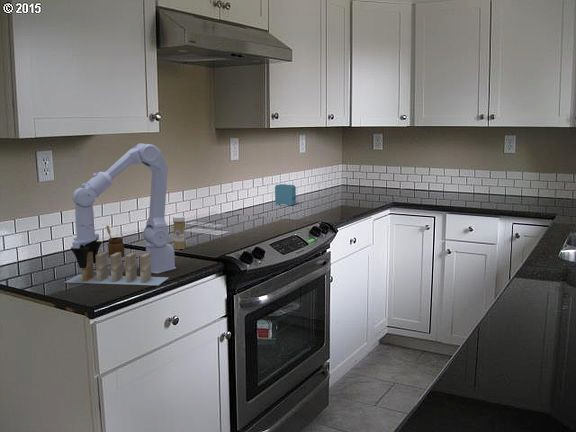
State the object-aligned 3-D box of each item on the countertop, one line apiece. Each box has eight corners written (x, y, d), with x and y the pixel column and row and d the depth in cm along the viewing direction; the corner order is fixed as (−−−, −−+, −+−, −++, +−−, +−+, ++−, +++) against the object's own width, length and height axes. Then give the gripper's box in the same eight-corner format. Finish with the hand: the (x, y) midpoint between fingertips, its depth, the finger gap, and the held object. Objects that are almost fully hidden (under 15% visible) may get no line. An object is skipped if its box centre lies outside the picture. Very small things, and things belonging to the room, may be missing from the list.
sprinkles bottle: (173, 250, 255) (172, 217, 253) (174, 248, 259) (173, 215, 257) (185, 250, 256) (184, 216, 253) (185, 247, 260) (184, 215, 258)
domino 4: (136, 278, 210) (135, 252, 209) (130, 282, 205) (129, 256, 204) (132, 278, 210) (131, 252, 209) (126, 282, 205) (124, 256, 204)
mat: (169, 278, 211) (169, 277, 211) (158, 286, 201) (158, 285, 201) (79, 275, 216) (78, 274, 216) (64, 283, 206) (64, 282, 206)
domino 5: (151, 278, 209) (150, 253, 208) (145, 282, 204) (144, 256, 203) (146, 278, 210) (145, 253, 208) (140, 282, 205) (139, 256, 203)
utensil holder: (120, 258, 242) (118, 227, 240) (105, 257, 243) (103, 226, 242) (127, 254, 248) (125, 224, 246) (112, 254, 249) (110, 224, 247)
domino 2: (108, 277, 212) (107, 252, 210) (101, 281, 207) (100, 255, 205) (103, 277, 212) (102, 252, 211) (97, 281, 207) (95, 255, 206)
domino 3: (122, 277, 211) (121, 252, 210) (116, 281, 206) (114, 255, 205) (118, 277, 211) (116, 252, 210) (111, 281, 206) (110, 255, 205)
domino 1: (94, 276, 213) (92, 251, 211) (87, 280, 208) (85, 254, 206) (89, 276, 213) (88, 251, 211) (82, 280, 208) (80, 254, 207)
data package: (296, 205, 379) (295, 185, 377) (292, 206, 375) (291, 185, 373) (279, 203, 385) (278, 184, 383) (275, 204, 381) (274, 184, 380)
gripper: (84, 220, 215) (86, 260, 217) (62, 228, 201) (65, 270, 203) (103, 221, 214) (106, 260, 216) (83, 228, 200) (85, 271, 202)
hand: (87, 265), depth 209 cm, fingers open, 6 cm apart
